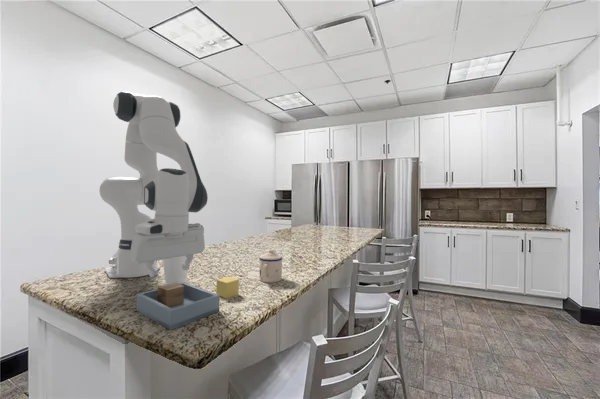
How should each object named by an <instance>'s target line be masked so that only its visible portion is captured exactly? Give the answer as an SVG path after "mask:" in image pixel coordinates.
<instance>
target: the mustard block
mask: <svg viewBox="0 0 600 399" xmlns="http://www.w3.org/2000/svg"><path fill="white" fill-rule="evenodd" d="M239 284H240V279H239V278H236V277H232V276H226V277H222V278H219V279H217V280H216V291H215V292H216V293H215V294H218V295H220V297H221V298H224V299H229V298H232V297H235V296H237V295H239V287H240V285H239Z"/></svg>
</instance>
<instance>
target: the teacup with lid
mask: <svg viewBox="0 0 600 399" xmlns="http://www.w3.org/2000/svg"><path fill="white" fill-rule="evenodd" d="M258 259H259V276H258V277H259V281H261V283H262V282H263V283H270V284H271V283H278V282H280V281H281V280H282V278H283V277H282V272H283V271H282V270H283V268H282V266H283V256H282V255H280V254H278V253H276V252H274V249H268V252H265V253H263V254H261V255H260V256H259V258H258Z"/></svg>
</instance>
